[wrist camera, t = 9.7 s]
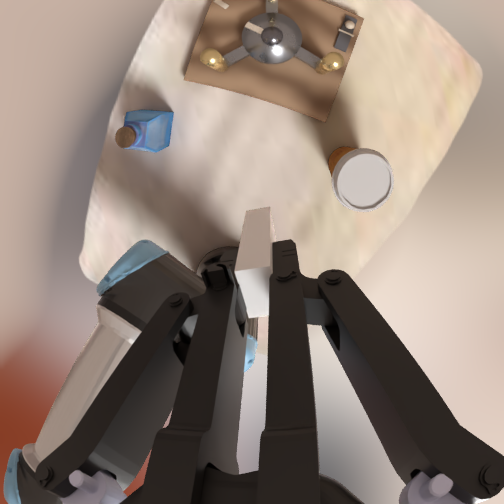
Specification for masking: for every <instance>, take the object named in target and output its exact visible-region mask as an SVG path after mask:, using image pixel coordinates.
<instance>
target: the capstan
mask: <svg viewBox="0 0 504 504" xmlns="http://www.w3.org/2000/svg"><path fill="white" fill-rule="evenodd" d="M242 43H243V46H241V47H239V48H237V49H235V50H233V51H232V52H230V53H228V54H226V55H224V56H222V55H221V54H220V53H219V52H218V51H217V50H215V49H213V48H208V49H205V50H204V51H203V52H202V53H201V55H200V60H201V62H202V63H203V64H205V65H207V66H209V67H211V68H213V69H215V70H216V71H218V72H224V71H226V70H227V69H228V68H229V66H231V65H233V64H235V63H237V62H239V61H240V60H242V59H244V58H246V57H248V56H251V57H252V58H253V59H255V60H257V61H259V62H261V63H264V64H272V65H273V64H281V63H284V62H287V61H289V60H290V59H292V58H293V57H295V58H297V59H299V60H300V61H302V62H304V63H305V64H307V65H309V66H310V67H312V68H314V69H315V71H316V72H317V73H318V74H320V75H325V74H327V73H329V72H332V71H334V70H336V69H339V68H341V67H342V66H343V65H344V58H343V56H342V55H341V54H340V53H338V52H330V53H328V54H327V55H326V56H324V57H323V58H322V59H320V58H319V57H317V56H315V55H314V54H312V53H310V52H309V51H307V50H305V49H304V48H302V47H301V44H302V33H301V30H300V28H299V26H298V25H297V24H296V23H295V22H294V21H293V20H292V19H291V18H289V17H287V16H285V15H283V14H279V13H278V0H266V13H263V14H259V15H257V16H255V17H253V18H252V19H250V20H249V21H248V22H247V24H246V25H245V27H244V29H243V32H242Z"/></svg>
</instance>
